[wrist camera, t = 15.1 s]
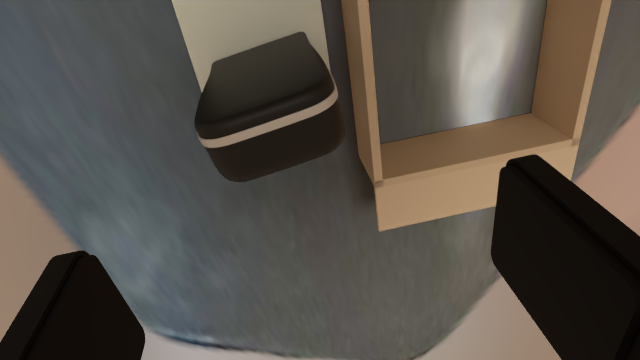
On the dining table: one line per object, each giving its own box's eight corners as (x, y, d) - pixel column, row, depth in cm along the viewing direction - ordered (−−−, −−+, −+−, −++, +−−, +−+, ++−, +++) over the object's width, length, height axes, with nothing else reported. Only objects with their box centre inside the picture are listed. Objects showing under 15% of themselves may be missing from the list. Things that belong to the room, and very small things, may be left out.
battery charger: (230, 113, 28) (220, 204, 19) (207, 62, 26) (182, 135, 17) (323, 80, 28) (361, 157, 19) (307, 27, 26) (340, 81, 17)
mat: (314, -36, 25) (315, -35, 24) (338, 136, 31) (339, 138, 31) (170, -9, 24) (168, -8, 24) (225, 159, 31) (224, 162, 30)
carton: (581, -167, 23) (654, -189, 19) (530, 159, 35) (568, 189, 31) (327, -122, 23) (344, -134, 18) (363, 195, 35) (379, 231, 30)
